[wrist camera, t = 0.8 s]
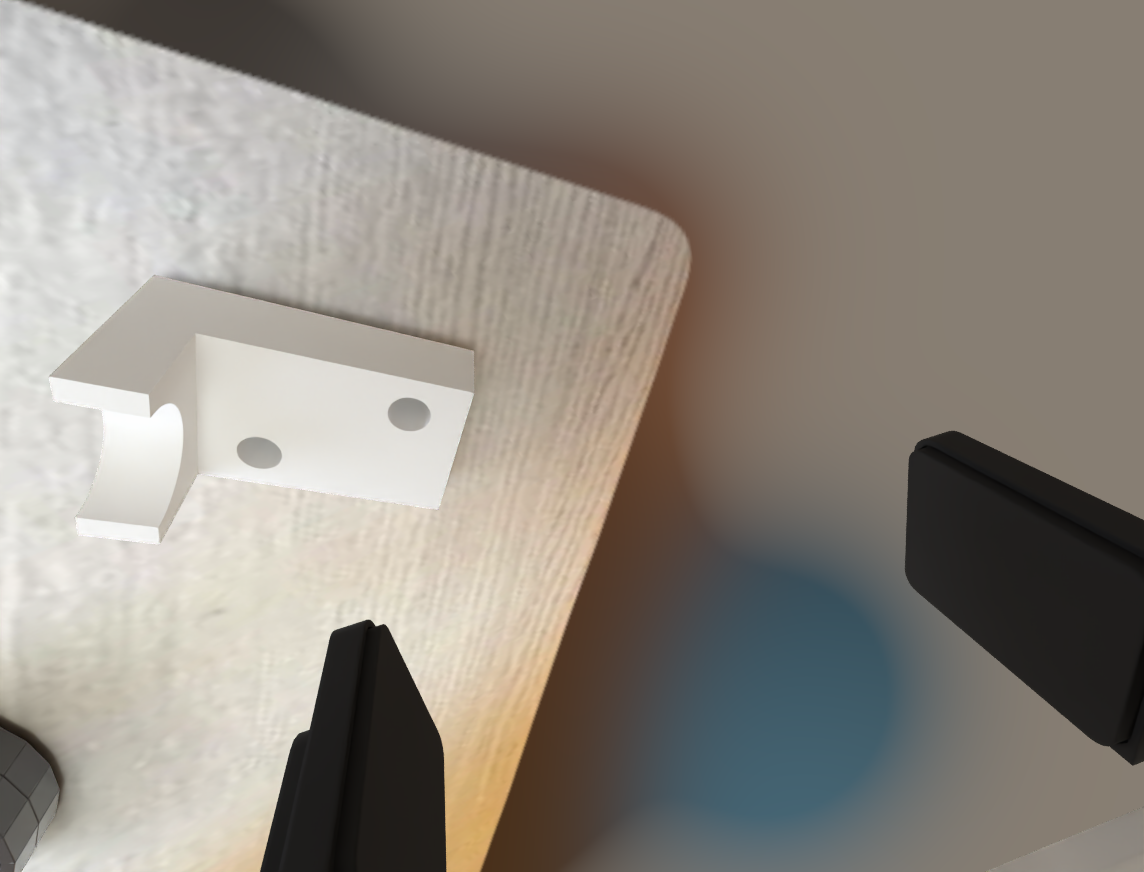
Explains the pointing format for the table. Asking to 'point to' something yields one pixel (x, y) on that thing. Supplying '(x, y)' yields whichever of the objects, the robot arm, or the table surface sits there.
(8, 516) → the table surface
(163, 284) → the bracket
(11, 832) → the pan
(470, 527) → the table surface
